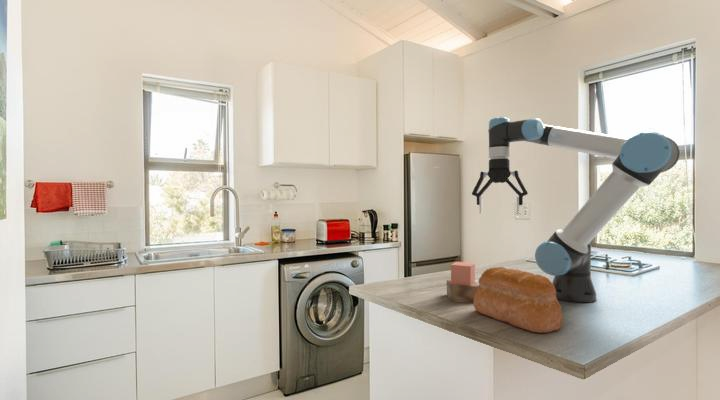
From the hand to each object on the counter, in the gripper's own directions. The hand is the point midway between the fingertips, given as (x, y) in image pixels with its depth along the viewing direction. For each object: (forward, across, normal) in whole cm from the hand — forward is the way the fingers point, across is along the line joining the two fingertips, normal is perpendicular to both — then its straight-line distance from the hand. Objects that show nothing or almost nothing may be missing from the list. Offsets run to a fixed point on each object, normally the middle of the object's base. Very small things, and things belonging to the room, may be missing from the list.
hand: (499, 213), depth 151 cm
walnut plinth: (+31, +11, +14) cm, 36 cm away
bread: (+31, -9, +31) cm, 45 cm away
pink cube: (+25, +11, +14) cm, 31 cm away
